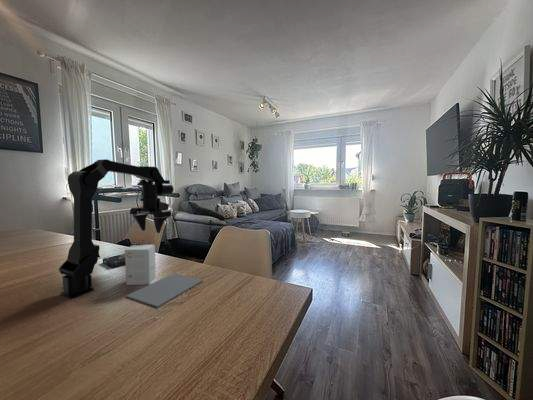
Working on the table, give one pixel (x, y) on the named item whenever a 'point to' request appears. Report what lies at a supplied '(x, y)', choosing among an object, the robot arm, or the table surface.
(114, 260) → the disk drive
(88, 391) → the table surface
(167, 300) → the mat
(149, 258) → the small box
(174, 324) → the table surface
